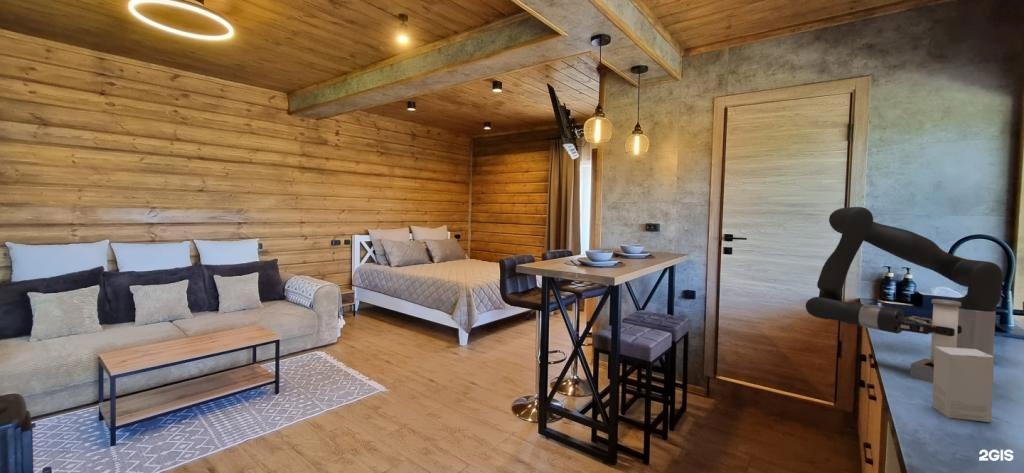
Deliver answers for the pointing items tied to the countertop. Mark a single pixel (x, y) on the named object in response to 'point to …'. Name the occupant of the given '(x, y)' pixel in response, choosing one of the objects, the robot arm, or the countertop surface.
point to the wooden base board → (922, 370)
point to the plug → (944, 323)
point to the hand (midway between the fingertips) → (957, 331)
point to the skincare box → (963, 383)
